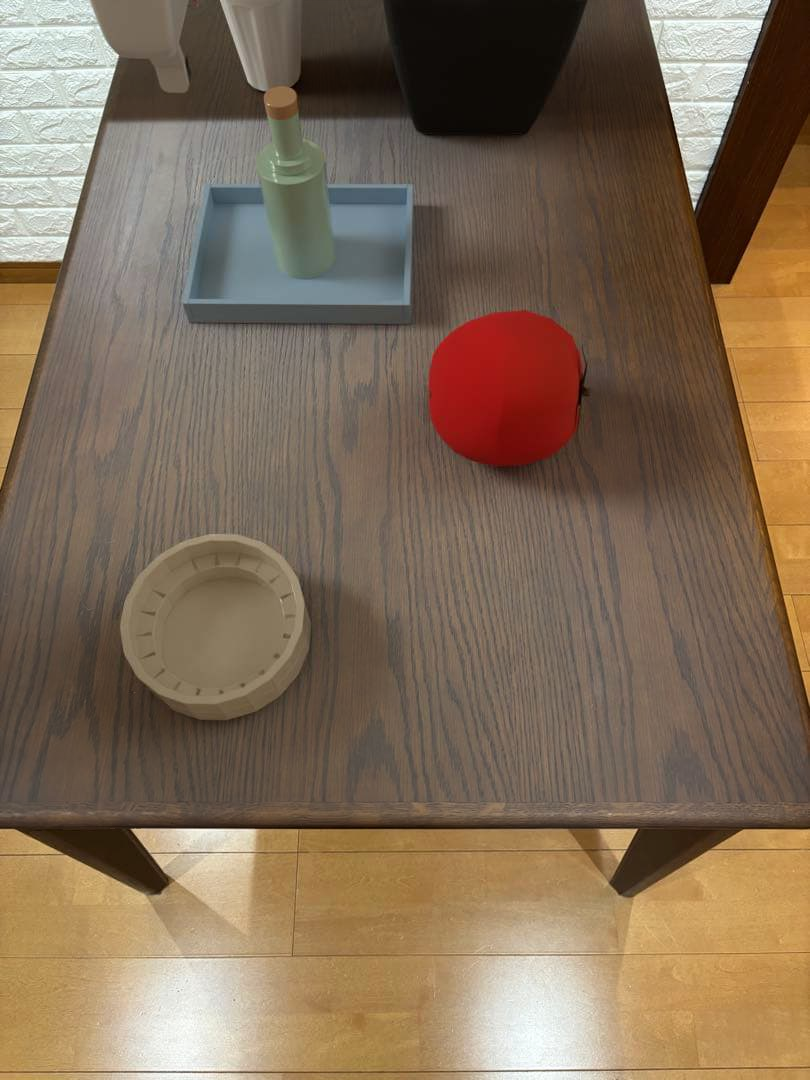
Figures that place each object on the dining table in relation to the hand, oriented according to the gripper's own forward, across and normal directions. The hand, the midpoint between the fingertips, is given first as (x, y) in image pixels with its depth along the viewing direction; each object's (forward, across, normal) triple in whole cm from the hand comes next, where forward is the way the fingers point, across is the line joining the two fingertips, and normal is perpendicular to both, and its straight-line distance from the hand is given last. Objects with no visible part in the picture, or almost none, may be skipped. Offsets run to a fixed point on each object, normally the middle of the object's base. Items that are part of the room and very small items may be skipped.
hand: (187, 42), depth 55 cm
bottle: (+26, -8, +5) cm, 27 cm away
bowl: (+27, +32, +1) cm, 42 cm away
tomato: (+26, +13, +24) cm, 38 cm away
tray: (+26, -8, +5) cm, 28 cm away
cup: (+26, -37, -1) cm, 45 cm away
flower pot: (+26, -32, +22) cm, 47 cm away
